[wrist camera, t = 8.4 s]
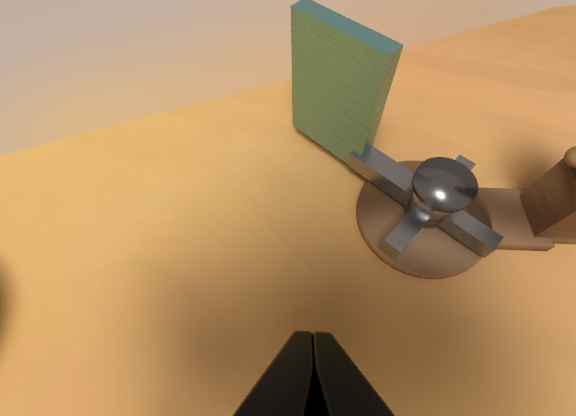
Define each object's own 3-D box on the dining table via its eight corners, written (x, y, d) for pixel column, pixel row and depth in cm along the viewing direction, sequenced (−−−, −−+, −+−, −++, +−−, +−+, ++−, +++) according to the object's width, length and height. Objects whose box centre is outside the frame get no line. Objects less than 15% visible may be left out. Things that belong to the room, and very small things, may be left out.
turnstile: (450, 304, 18) (570, 239, 10) (258, 153, 24) (238, 37, 16) (519, 206, 22) (653, 98, 13) (333, 94, 27) (348, -29, 19)
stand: (593, 286, 20) (822, 209, 11) (359, 275, 21) (405, 194, 12) (544, 170, 24) (682, 50, 16) (353, 165, 25) (383, 47, 16)
